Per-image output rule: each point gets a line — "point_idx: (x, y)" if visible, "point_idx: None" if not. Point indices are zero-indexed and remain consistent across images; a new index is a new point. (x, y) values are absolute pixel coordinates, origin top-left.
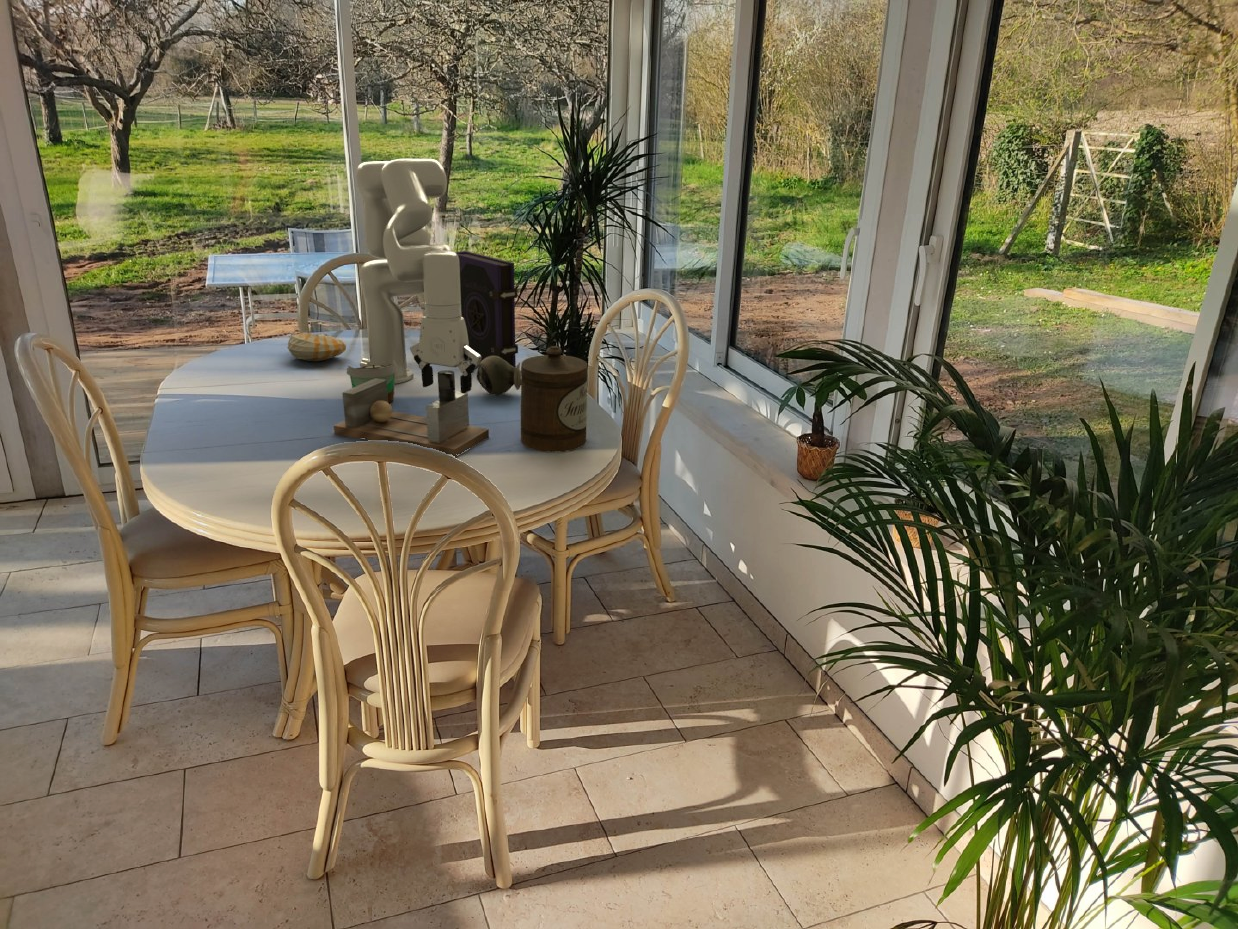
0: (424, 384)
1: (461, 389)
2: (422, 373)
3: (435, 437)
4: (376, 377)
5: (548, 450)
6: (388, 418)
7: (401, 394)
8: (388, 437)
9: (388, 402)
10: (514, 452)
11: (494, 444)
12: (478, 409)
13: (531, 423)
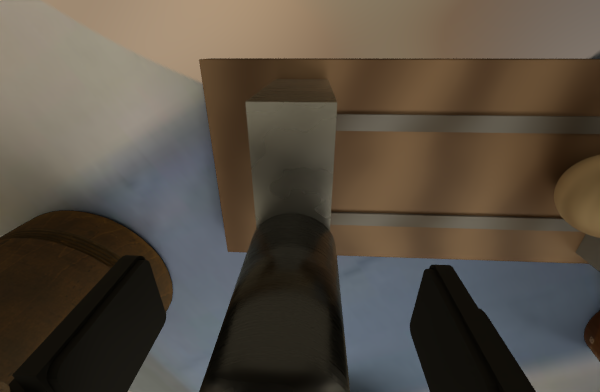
0: (441, 275)
1: (122, 270)
2: (503, 357)
3: (291, 81)
4: None
5: (42, 215)
6: (559, 181)
7: (575, 371)
8: (500, 59)
9: (597, 324)
10: (109, 178)
11: (190, 204)
12: (358, 355)
13: (24, 258)
